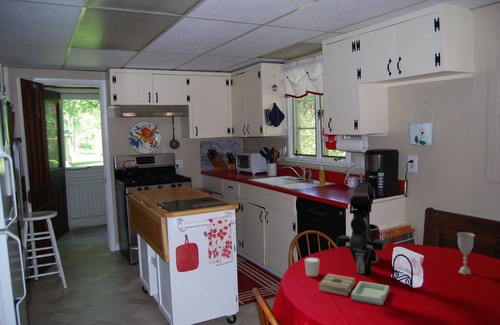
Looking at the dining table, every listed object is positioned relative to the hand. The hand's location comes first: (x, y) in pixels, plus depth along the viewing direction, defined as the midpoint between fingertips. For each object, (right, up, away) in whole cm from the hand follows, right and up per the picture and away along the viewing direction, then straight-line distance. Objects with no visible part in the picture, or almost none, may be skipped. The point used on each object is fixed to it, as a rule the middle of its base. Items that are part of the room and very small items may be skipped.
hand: (360, 262), depth 163 cm
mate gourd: (+15, -9, +42) cm, 45 cm away
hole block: (-8, -13, +8) cm, 17 cm away
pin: (0, -4, 0) cm, 4 cm away
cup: (-16, -12, +24) cm, 31 cm away
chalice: (+53, -10, +19) cm, 58 cm away
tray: (+4, -13, -1) cm, 14 cm away
